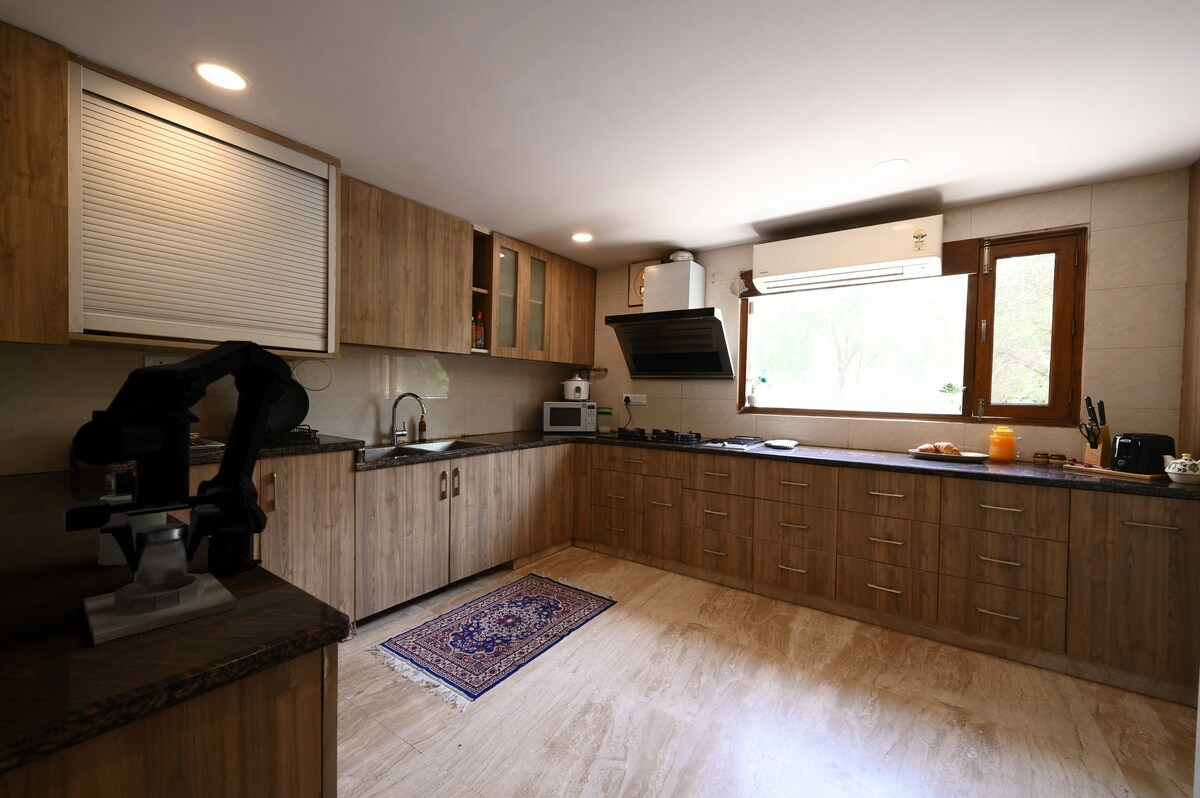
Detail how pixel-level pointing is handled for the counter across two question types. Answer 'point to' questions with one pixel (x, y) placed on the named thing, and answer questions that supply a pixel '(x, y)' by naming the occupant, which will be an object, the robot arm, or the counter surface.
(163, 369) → the robot arm
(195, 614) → the ring plate
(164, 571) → the piston
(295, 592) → the counter surface
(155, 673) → the counter surface
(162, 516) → the can
